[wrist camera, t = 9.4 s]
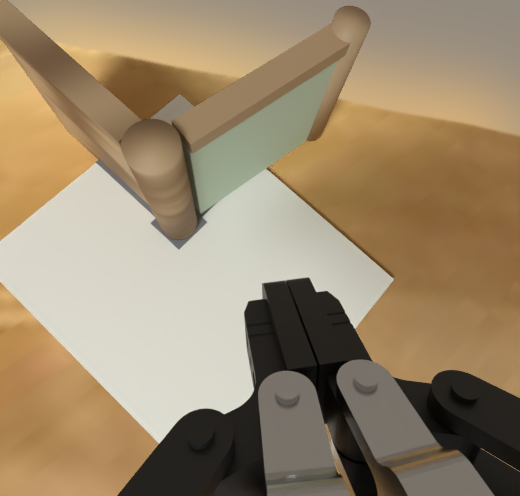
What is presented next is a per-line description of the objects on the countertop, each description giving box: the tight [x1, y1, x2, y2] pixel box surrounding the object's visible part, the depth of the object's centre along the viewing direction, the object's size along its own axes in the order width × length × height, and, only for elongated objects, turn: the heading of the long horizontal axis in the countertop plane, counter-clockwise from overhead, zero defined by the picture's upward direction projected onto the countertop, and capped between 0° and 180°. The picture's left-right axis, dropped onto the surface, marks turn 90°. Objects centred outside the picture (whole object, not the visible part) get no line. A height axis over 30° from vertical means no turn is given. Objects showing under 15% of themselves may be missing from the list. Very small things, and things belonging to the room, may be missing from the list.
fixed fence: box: [0, 0, 197, 240], centre depth 20 cm, size 12×2×10 cm, turn 48°
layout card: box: [0, 94, 394, 444], centre depth 24 cm, size 20×17×1 cm
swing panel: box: [171, 6, 371, 214], centre depth 21 cm, size 11×2×9 cm, turn 129°
